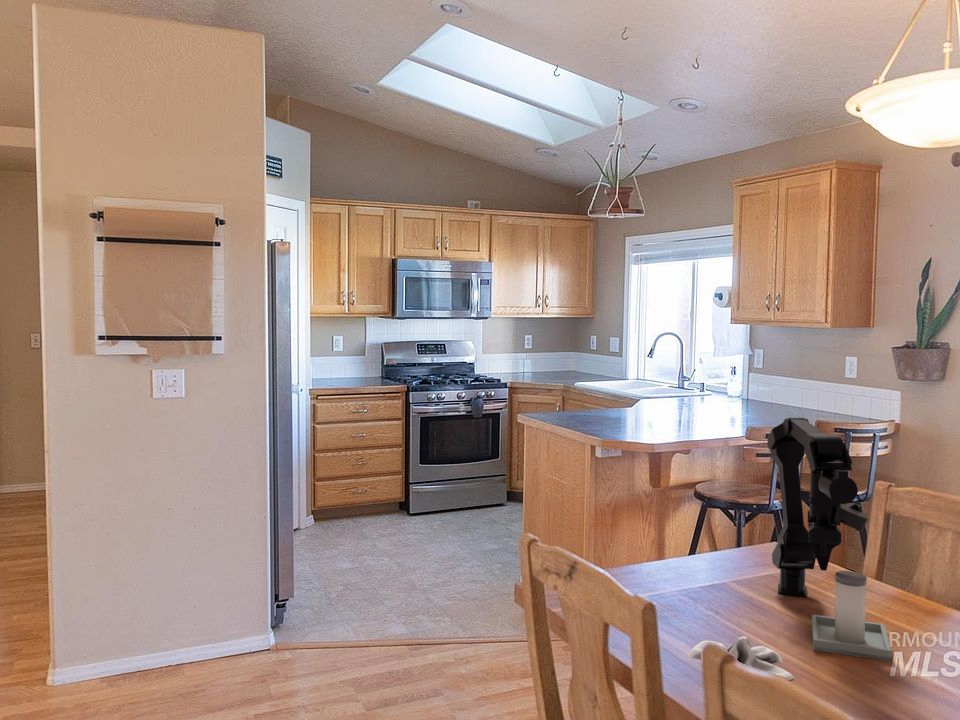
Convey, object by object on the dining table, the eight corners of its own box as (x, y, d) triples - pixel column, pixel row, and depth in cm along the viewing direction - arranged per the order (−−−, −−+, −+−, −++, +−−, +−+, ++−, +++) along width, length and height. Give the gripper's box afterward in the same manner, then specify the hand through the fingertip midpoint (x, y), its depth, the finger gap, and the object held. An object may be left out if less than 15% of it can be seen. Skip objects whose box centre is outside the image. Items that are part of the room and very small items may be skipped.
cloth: (680, 644, 160) (681, 615, 160) (772, 646, 159) (772, 617, 159) (704, 697, 138) (705, 664, 138) (811, 700, 137) (812, 666, 137)
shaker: (827, 635, 161) (829, 573, 160) (848, 630, 163) (849, 569, 163) (850, 646, 156) (852, 581, 155) (871, 641, 158) (873, 577, 157)
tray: (811, 624, 169) (812, 614, 169) (883, 634, 164) (884, 623, 163) (813, 650, 156) (813, 639, 156) (891, 661, 151) (891, 650, 150)
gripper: (869, 506, 157) (867, 582, 157) (862, 487, 174) (860, 555, 175) (809, 501, 161) (808, 575, 162) (808, 483, 178) (806, 550, 179)
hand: (822, 563), depth 169 cm, fingers open, 9 cm apart
